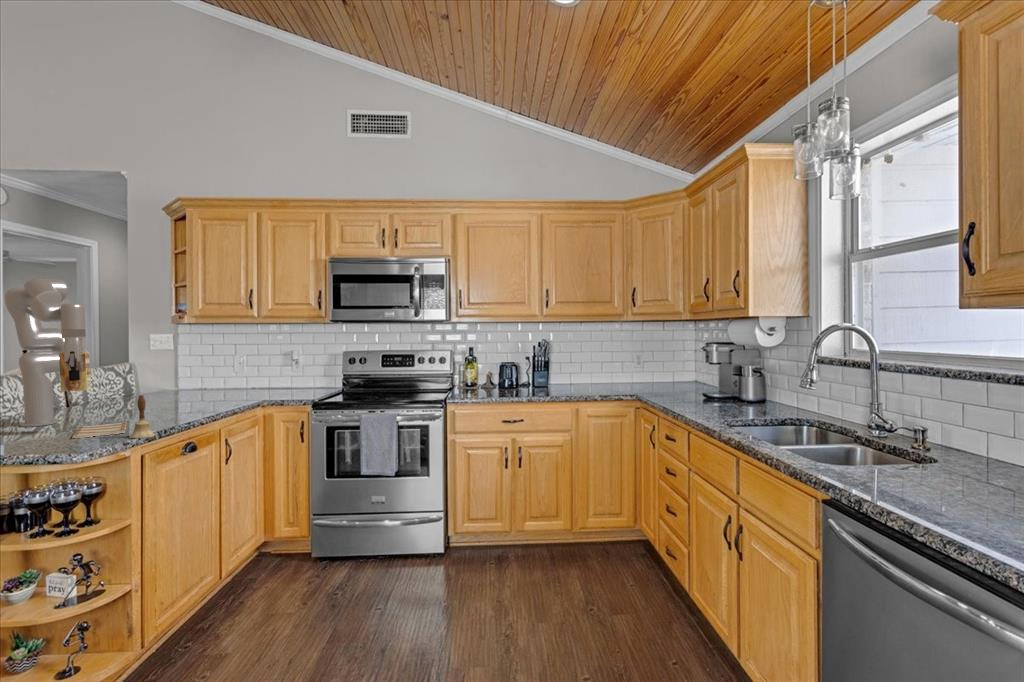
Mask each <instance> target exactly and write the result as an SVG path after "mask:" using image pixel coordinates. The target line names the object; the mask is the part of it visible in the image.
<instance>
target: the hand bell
mask: <svg viewBox="0 0 1024 682" xmlns="http://www.w3.org/2000/svg"><path fill="white" fill-rule="evenodd" d="M146 406H147V404H146V399H145V397H144V394H143V395H142V394H141V395H138V399H137V409H138V413H139V416H138V417H139V418H138V419H139V420H138V421H137V422H135V424H134V428H133V431H132V433H131V435H130V436H129V437H131V438H141V439H147V438H152V437H155V436H156V433H154V432H153V431H152V429H151V426H150V422H149V421H147V420H145V411H146ZM131 438H130V439H131Z"/></svg>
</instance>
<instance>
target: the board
mask: <svg viewBox="0 0 1024 682" xmlns="http://www.w3.org/2000/svg"><path fill="white" fill-rule="evenodd" d="M126 426H127V427H128V423H127V421H123V422H116V423H106V424H96V425H95V424H94V425H80V426H79V427H77V429H76V431H75V432H74V434H72V439H73V438H81V439H84V438H83V437H90V438H94V437H93V436H100V435H110V434H119V433H125V434H126V431H125V430H127V427H126ZM110 436H111V435H110ZM100 437H101V436H100Z"/></svg>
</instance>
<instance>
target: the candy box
mask: <svg viewBox="0 0 1024 682" xmlns="http://www.w3.org/2000/svg"><path fill="white" fill-rule="evenodd" d="M76 360H77V359H76ZM90 360H91V359H90V352H89V351H83V352H81V359H80V362H79V363H78V370H79V376H80V380H75V381H70V380H69V360H68V362H67V363H65V362H64V353H59V364H60V372H59V378H60V381H59V382H60V392H73V391H74V392H75V391H76V392H77V391H79V392H80V391H88V390H91V389H92V384H91V383H92V382H91V363H90ZM74 362H77V361H74Z"/></svg>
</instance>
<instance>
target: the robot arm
mask: <svg viewBox="0 0 1024 682" xmlns="http://www.w3.org/2000/svg"><path fill="white" fill-rule="evenodd" d="M69 294H70V287H69V285H68V283H67V282H66V281H65V280H63V279H59V278H58V279H57V278H41V277H40V278H31V279H29V280H27V281H26V282H25V283H24V286H23V287H15V288H11V289H10V288H9V289H8V290H7V291H6V292H5V295H4V304H5V307H6V309H7V311H8V314H9V315H10V316H11V318H12V320H13V322H14V327H15V331H16V334H17V335H16V336H17V339H18V343H19V346H20V347H21V349H23V350H26V351H29V352H25V353H23V354H22V355H20V357H19V358H18V359H19V360H18V366H19V369H20V372H21V379H22V390H23V409H24V410H23V411H24V421H23V422H20V423H19V425H20V427H23V428H24V427H26V428H27V427H28V428H29V427H41V426H49V425H54V424H58V423H59V419H57V418H55V417H54V416H55V415H54V398H53V397H54V394H53V383H52V381H51V379H50V378H48V376H46V374H50V373H60V364H59V353H64V362H65V363H67V362H68V360H69V380H70V381H75V380H80V376H79V370H78V363H79V362H80V359H81V352H84V345H83V342H84V341H83V338H84V339H85V338H86V335H87V334H86V333H87V332H86V315H85V314H86V313H85V311H86V309H85V305H84V304H82V303H77V302H75V303H73V302H71V303H67V302H66V303H65V302H63V301H64V300H65V299H66V298H67V297H68V296H69ZM29 308H30V309H29ZM41 322H42V323H43V322H44V323H51V322H53V323H54V322H55V323H59V322H60V328H56V327H48V328H47V327H46V328H45V327H43V325H42V323H41ZM46 350H47V351H46ZM49 350H50V351H49ZM76 359H77V360H76ZM74 361H77V362H74Z"/></svg>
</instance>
